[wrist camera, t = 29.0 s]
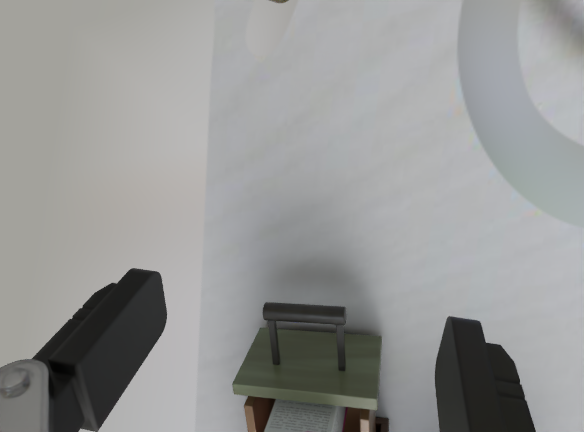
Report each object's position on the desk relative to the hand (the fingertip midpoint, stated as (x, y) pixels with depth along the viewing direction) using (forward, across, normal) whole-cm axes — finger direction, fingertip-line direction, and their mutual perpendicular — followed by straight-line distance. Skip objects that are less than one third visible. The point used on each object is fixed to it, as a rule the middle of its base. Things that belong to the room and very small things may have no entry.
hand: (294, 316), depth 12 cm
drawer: (+23, +1, +27) cm, 36 cm away
